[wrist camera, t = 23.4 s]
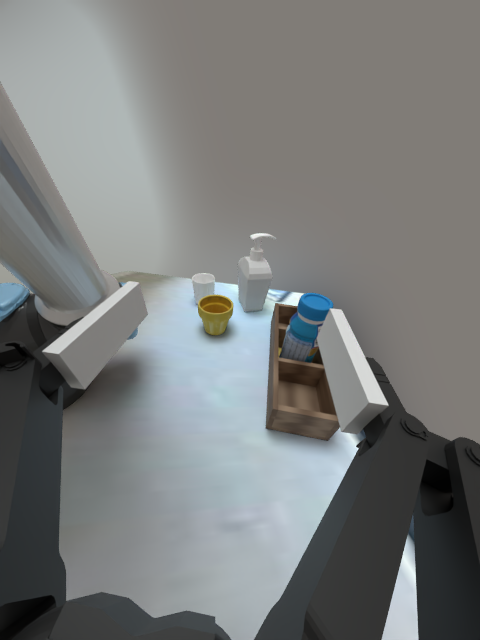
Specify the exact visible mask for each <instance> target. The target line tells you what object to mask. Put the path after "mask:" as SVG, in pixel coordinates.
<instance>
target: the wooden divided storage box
mask: <svg viewBox="0 0 480 640" xmlns="http://www.w3.org/2000/svg"><path fill="white" fill-rule="evenodd" d="M297 307H298V306H291V305H284V304H278V303H275V308H274V312H273V316H272V321H271V335H270V355H269V375H268V394H267V414H266V428H267V429H272V430H277V431H282V432H287V433H292V434H297V435H302V436H307V437H312V438H317V439H322V440H327V441H328V440H329V439H330V438H331V436H332V435H333V434H334V433H335V432H336V431H337V430H338V429H339V427H340V425H339V421H338V417H337V413H336V410H335V406H334V402H333V398H332V395H331V391H330V387H329V383H328V380H327V376H326V372H325V368H324V364H323V361H322V357H321V353H320V349H319V347H318V349H317V351H316V353H315V356H314V358H313V360H312V362H311V363H308V362H302V361H296V360H291V359H285V358H279V355H280V353H281V349H282V346H283V342H284V339H285V335H286V330H287V327H288V325H289V322H290V319H291V317H292V316H293V315H294V314H295V313H296V312H298V311H297Z"/></svg>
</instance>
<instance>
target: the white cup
mask: <svg viewBox="0 0 480 640" xmlns="http://www.w3.org/2000/svg"><path fill="white" fill-rule="evenodd" d="M192 282H193V289H194V296H195V301H196V304H197V305H198V302H199V300H200V299H201V298H203V297H205V296H208V295H214V287H215V277H214V276H213V275H211V274H207V273H200V274H196V275H194V276H193V277H192Z"/></svg>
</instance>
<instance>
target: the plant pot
mask: <svg viewBox="0 0 480 640" xmlns="http://www.w3.org/2000/svg"><path fill="white" fill-rule="evenodd" d="M198 313H199V316H200V317H201V318H202V321H203V324H204V328H205V331H206V332H207V333H208V334H211V335H220V334H222V333H224V332H225V330H226V327H227V323H228V320H229V319H230V318H231V316H232V313H233V302H232V301H231V300H230V299H229V298H227V297H225V296H222V295H208V296H205V297H203V298H201V299H200V300H199V302H198Z"/></svg>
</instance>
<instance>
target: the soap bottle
mask: <svg viewBox="0 0 480 640" xmlns="http://www.w3.org/2000/svg"><path fill="white" fill-rule="evenodd" d="M266 237H268V238H272V239H274V240H276V238H275V237H273V236H272V235H269V234H263V233H262V234H261V233H258V234H253V235H251V236H250V238H251V239H252V240H253V241H255V244H254V248H251V249H250V257H242V258H241V259H240V261H239V263H238V288H239V301H240V303H241V305H242V307H243V309H244V312H249V311H259V310H262V307H263V304H264V302H265V299H266V296H267V293H268V290H269V287H270V284H271V281H272V273H271V270H270V267H269V264H268V262H267V261H266V260H265V259H264V258H263V256H262V255H263V249H261V248H260V246H261V239H262V238H266Z"/></svg>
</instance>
